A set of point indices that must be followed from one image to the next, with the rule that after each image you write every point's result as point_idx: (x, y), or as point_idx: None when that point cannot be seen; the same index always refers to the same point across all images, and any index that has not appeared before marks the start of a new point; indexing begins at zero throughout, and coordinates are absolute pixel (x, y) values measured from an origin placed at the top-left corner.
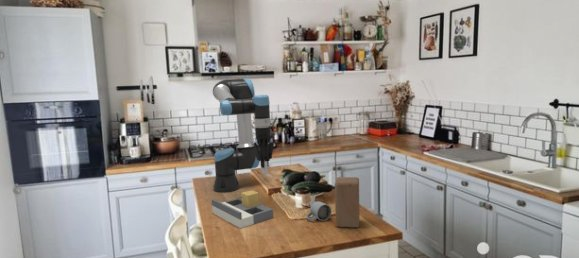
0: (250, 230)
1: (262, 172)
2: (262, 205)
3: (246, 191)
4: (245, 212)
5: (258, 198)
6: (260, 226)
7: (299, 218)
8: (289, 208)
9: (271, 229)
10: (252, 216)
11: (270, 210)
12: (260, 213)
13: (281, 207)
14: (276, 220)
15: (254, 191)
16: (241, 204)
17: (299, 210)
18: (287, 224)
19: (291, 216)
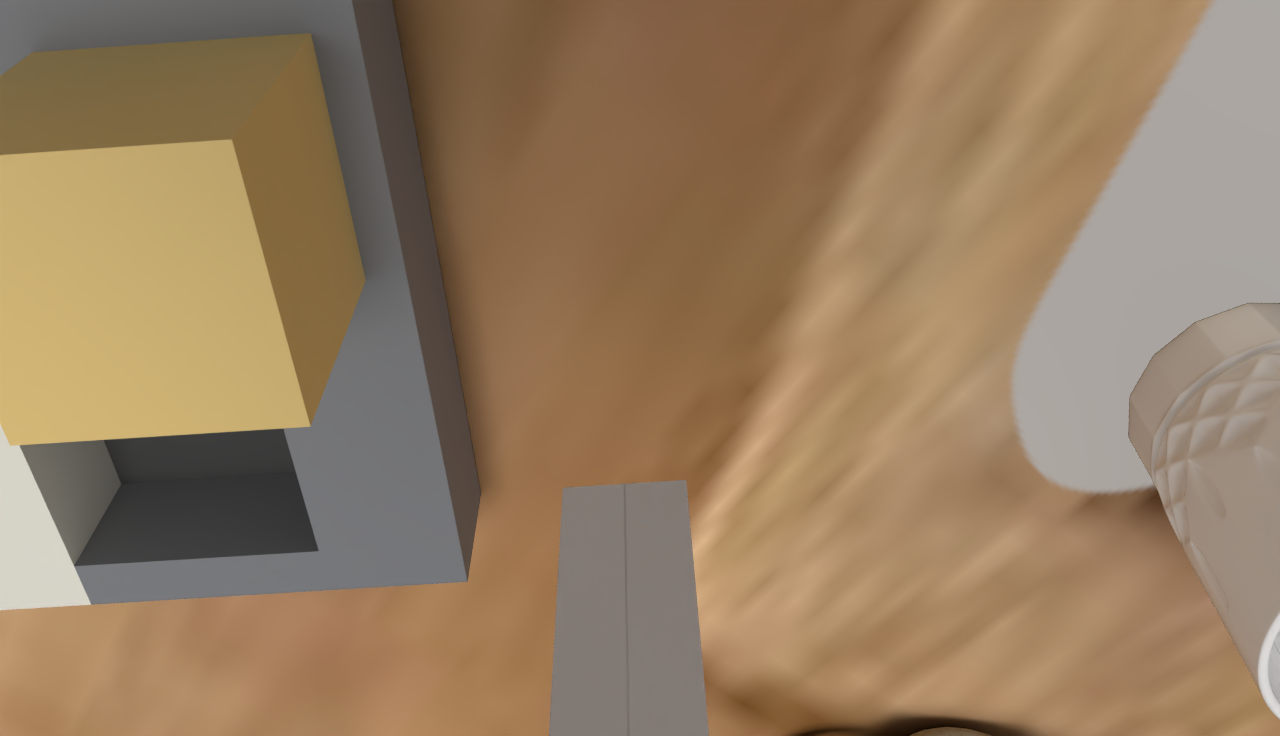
0: (40, 633)
1: (561, 533)
2: (402, 355)
3: (57, 150)
4: (2, 448)
5: (332, 351)
6: (197, 611)
7: (738, 680)
8: (898, 358)
9: (285, 727)
10: (81, 595)
11: (419, 580)
12: (226, 593)
13: (836, 243)
14: (465, 583)
15: (262, 288)
16: (25, 34)
17: (941, 501)
18: (513, 723)
19: (705, 591)
